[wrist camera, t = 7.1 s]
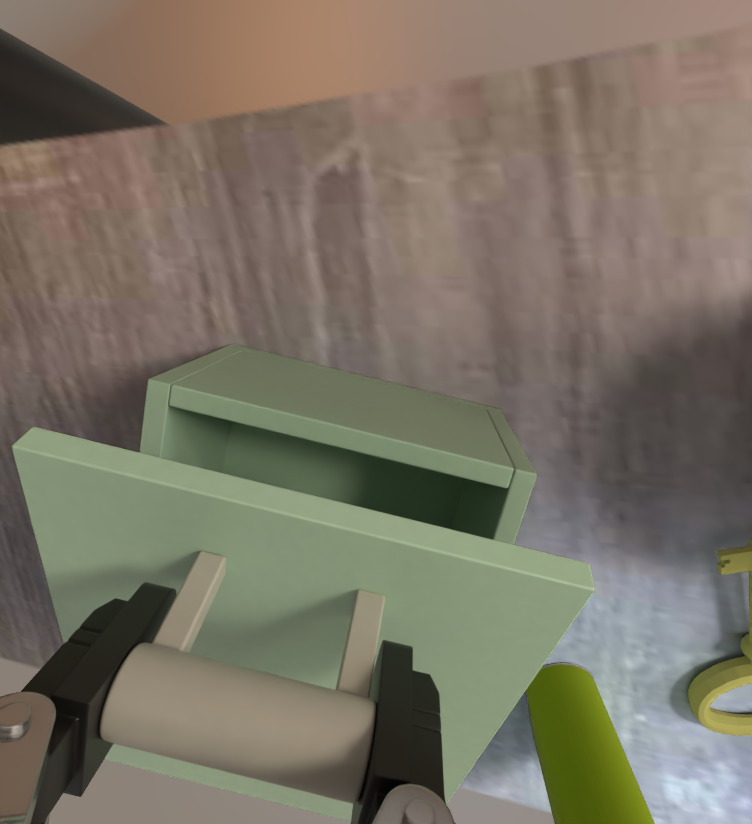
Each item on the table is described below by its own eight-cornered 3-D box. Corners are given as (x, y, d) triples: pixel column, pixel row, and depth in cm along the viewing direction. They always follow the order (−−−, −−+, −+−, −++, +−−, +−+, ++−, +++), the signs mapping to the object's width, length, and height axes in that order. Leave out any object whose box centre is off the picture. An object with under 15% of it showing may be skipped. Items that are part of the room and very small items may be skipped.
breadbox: (232, 343, 27) (147, 378, 19) (500, 408, 27) (538, 474, 18) (189, 609, 31) (104, 737, 23) (421, 667, 31) (423, 818, 23)
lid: (33, 425, 13) (-174, 608, 9) (590, 562, 13) (644, 813, 9) (103, 736, 23) (20, 893, 19) (424, 816, 22) (412, 994, 18)
